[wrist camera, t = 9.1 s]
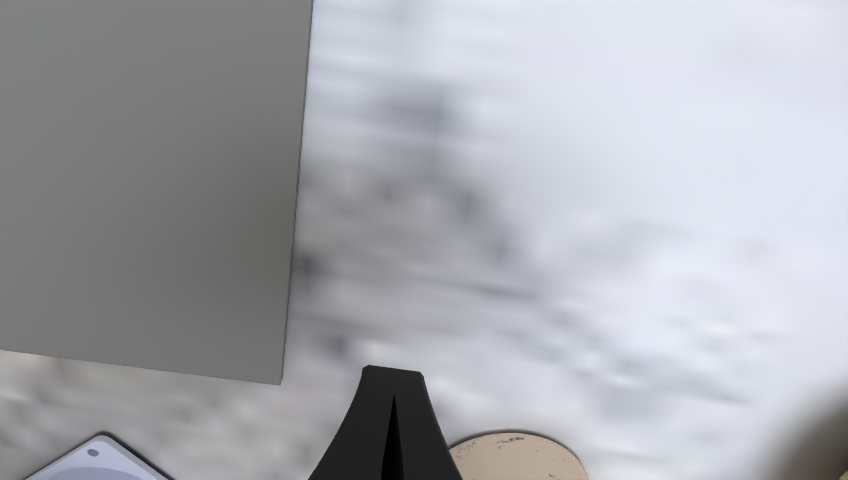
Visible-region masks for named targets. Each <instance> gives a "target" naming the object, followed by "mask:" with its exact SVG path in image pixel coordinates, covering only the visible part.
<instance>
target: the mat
mask: <svg viewBox="0 0 848 480" xmlns="http://www.w3.org/2000/svg"><path fill="white" fill-rule="evenodd" d="M312 9H313V0H0V350H6V351H14V352H22V353H29V354H37V355H45V356H53V357H61V358H68V359H76V360H84V361H92V362H100V363H108V364H115V365H123V366H131V367H139V368H147V369H155V370H162V371H170V372H178V373H186V374H194V375H202V376H209V377H217V378H225V379H233V380H241V381H248V382H256V383H264V384H272V385H281V381H282V374H283V362H284V350H285V338H286V326H287V313H288V301H289V289H290V277H291V265H292V252H293V240H294V228H295V216H296V204H297V192H298V179H299V167H300V155H301V143H302V131H303V118H304V106H305V94H306V82H307V70H308V57H309V45H310V33H311V21H312Z"/></svg>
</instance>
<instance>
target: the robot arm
mask: <svg viewBox="0 0 848 480" xmlns="http://www.w3.org/2000/svg"><path fill="white" fill-rule="evenodd" d="M25 480H168V479H166V478H165V477H163V476H162V475H161V474H159V473H158V472H157V471H155V470H154V469H152V468H151V467H150V466H148V465H147V464H146V463H144V462H143V461H141V460H140V459H139V458H137V457H136V456H135V455H133V454H132V453H130V452H129V451H128V450H126V449H125V448H124V447H122V446H121V445H119V444H118V443H117V442H115V441H114V440H112V439H111V438H109V437H108V436H104V435H99V436H96V437H94V438H92V439H91V440H89V441H88V442H86V443H84V444H83V445H81V446H79V447H78V448H76V449H74V450H73V451H71V452H70V453H68V454H66V455H65V456H63V457H61V458H60V459H58V460H56V461H55V462H53V463H52V464H50V465H48V466H47V467H45V468H43V469H42V470H40V471H38V472H37V473H35V474H34V475H32V476H30V477H29V478H27V479H25ZM308 480H463V478H462V476H461V474H460V472H459V470H458V468H457V466H456V464H455V462H454V460H453V458H452V456H451V453H450V451H449V449H448V446H447V444H446V442H445V439H444V437H443V434H442V432H441V430H440V427H439V425H438V422H437V419H436V417H435V414H434V411H433V408H432V405H431V402H430V399H429V396H428V392H427V389H426V385H425V381H424V376H423V375H422V374H421V373H420V372H417V371H409V370H402V369H394V368H387V367H379V366H372V365H368V366H366V367H364V368H363V370H362V376H361V379H360V383H359V386H358V389H357V391H356V394H355V397H354V399H353V401H352V403H351V406H350V408H349V410H348V412H347V414H346V416H345V418H344V420H343V422H342V424H341V426H340V428H339V430H338V432H337V434H336V435H335V437H334V439H333V441H332V442H331V444H330V446H329V447H328V449H327V451H326V452H325V454H324V456H323V457H322V459H321V461H320V462H319V464H318V465H317V467H316V468H315V470H314V471H313V473H312V474H311V476H310V477H309V479H308Z"/></svg>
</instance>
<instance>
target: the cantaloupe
mask: <svg viewBox="0 0 848 480" xmlns="http://www.w3.org/2000/svg"><path fill="white" fill-rule="evenodd" d="M839 480H848V470H847V471H846V472H845V473H844V474H843V475H842V476H841V477H840V479H839Z"/></svg>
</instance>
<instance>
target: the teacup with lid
mask: <svg viewBox="0 0 848 480" xmlns="http://www.w3.org/2000/svg"><path fill="white" fill-rule="evenodd" d="M449 451H450V453H451V456H452V458H453V460H454V462H455V464H456V466H457V468H458V470H459V472H460V474H461V476H462V478H463V480H588V477H587V474H586V472H585V470H584V468H583V466H582V465H581V463H580V462H579V460H578V459H577V458H576V457H575V456H574V455H573V454H572V453H571V452H570V451H568V450H567V449H566V448H564V447H563V446H561V445H559V444H557V443H555V442H553V441H551V440H548V439H545V438H542V437H539V436H535V435H529V434H522V433H498V434H491V435H485V436H481V437H477V438H474V439H471V440H468V441H466V442H463V443H461V444H459V445H457V446H455V447H453V448H452V449H450V450H449Z"/></svg>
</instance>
